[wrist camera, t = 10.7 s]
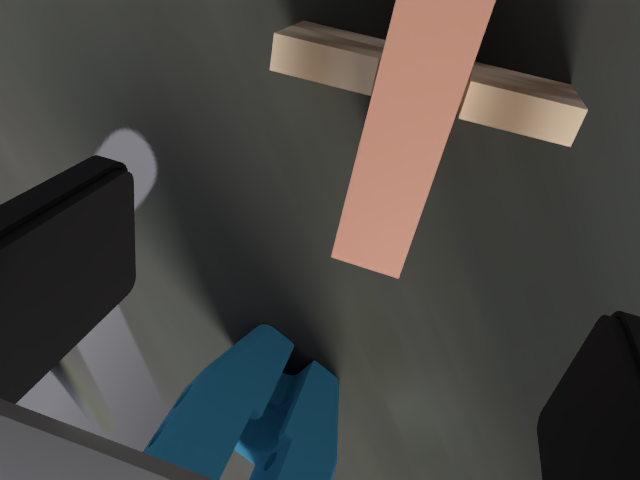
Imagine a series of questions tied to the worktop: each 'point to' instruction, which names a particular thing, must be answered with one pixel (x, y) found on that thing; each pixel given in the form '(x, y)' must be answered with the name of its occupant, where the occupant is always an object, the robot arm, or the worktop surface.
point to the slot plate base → (478, 98)
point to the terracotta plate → (408, 127)
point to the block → (254, 415)
